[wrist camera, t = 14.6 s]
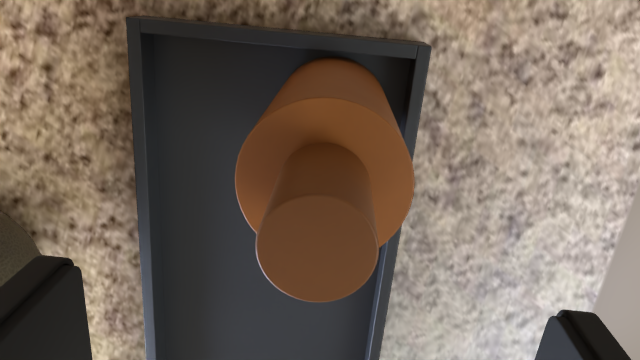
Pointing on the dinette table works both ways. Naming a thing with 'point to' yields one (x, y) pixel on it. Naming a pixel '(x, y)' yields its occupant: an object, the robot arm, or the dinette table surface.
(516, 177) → the dinette table surface
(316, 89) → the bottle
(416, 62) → the tray
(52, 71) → the dinette table surface
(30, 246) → the dark grey rock
